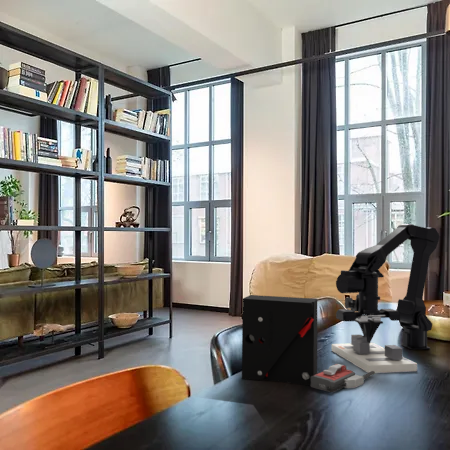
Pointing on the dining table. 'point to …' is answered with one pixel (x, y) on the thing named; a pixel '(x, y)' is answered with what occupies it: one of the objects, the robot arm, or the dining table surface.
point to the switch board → (374, 359)
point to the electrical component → (279, 339)
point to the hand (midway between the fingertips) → (367, 343)
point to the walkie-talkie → (337, 379)
